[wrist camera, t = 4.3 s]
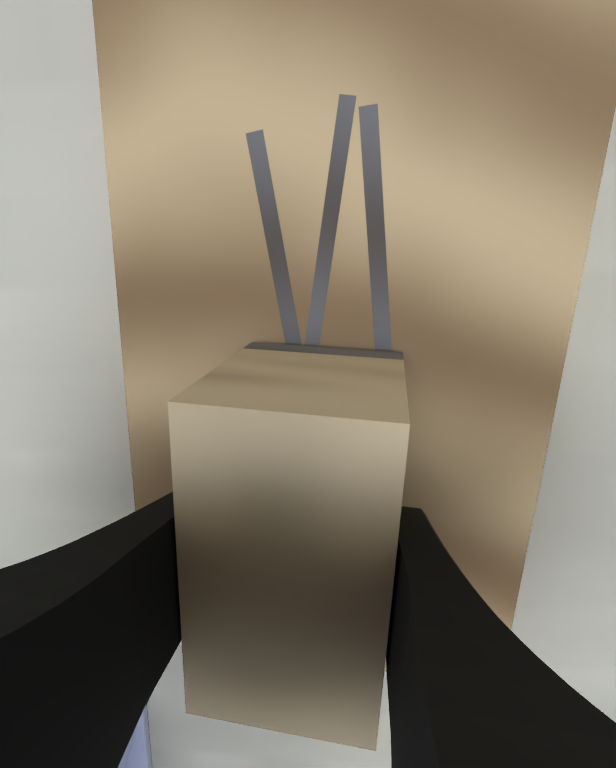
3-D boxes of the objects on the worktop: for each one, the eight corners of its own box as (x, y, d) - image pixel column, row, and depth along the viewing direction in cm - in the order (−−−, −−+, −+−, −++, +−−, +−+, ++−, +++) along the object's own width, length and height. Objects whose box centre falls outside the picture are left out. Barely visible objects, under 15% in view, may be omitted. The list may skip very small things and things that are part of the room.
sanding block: (381, 580, 14) (375, 750, 9) (252, 561, 15) (186, 712, 10) (403, 352, 12) (409, 424, 7) (251, 342, 13) (167, 401, 8)
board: (491, 659, 16) (498, 691, 15) (161, 605, 18) (145, 630, 17) (651, -189, 10) (686, -247, 8) (108, -136, 11) (76, -179, 10)
